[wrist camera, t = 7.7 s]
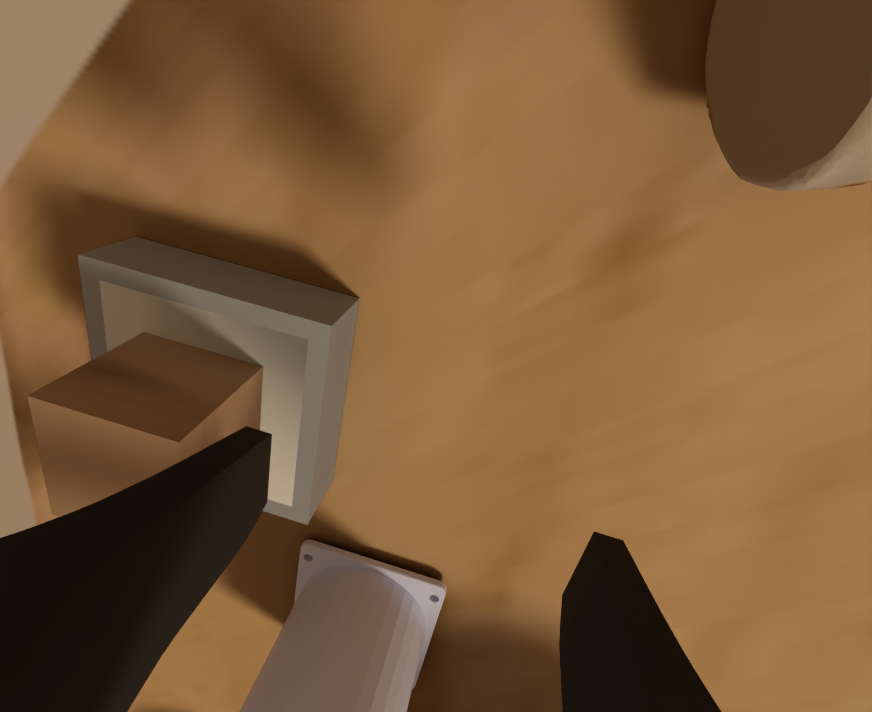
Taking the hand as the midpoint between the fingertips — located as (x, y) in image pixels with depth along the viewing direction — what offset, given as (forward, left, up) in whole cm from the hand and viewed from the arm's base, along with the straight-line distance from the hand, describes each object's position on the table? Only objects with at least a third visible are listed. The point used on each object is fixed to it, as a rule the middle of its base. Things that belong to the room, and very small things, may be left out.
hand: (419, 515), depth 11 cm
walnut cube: (-5, +10, -7) cm, 13 cm away
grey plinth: (-5, +10, -10) cm, 15 cm away
